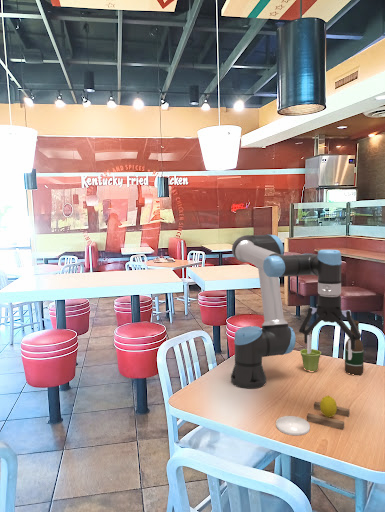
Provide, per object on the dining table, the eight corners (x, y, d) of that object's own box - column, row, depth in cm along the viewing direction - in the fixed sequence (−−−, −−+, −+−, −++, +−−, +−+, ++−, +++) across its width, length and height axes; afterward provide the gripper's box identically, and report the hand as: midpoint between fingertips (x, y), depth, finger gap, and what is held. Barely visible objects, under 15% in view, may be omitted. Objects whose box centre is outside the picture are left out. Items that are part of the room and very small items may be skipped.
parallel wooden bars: (306, 421, 135) (306, 415, 135) (315, 406, 145) (315, 401, 145) (343, 429, 129) (343, 424, 129) (349, 414, 139) (349, 409, 139)
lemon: (317, 414, 140) (317, 392, 139) (332, 413, 140) (332, 391, 139) (323, 422, 134) (324, 399, 134) (339, 421, 135) (339, 398, 134)
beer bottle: (355, 377, 172) (355, 323, 170) (341, 371, 179) (341, 320, 177) (367, 373, 176) (368, 321, 174) (352, 368, 183) (353, 318, 181)
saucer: (271, 430, 130) (271, 427, 130) (282, 415, 139) (282, 413, 139) (304, 438, 124) (304, 435, 124) (313, 423, 133) (313, 420, 133)
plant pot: (300, 373, 178) (300, 354, 178) (299, 365, 187) (299, 348, 187) (322, 374, 176) (322, 355, 175) (320, 367, 185) (320, 349, 185)
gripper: (290, 294, 137) (290, 353, 138) (367, 299, 124) (366, 364, 126) (296, 290, 143) (296, 347, 145) (370, 295, 130) (369, 357, 132)
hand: (329, 355), depth 135 cm, fingers open, 13 cm apart
